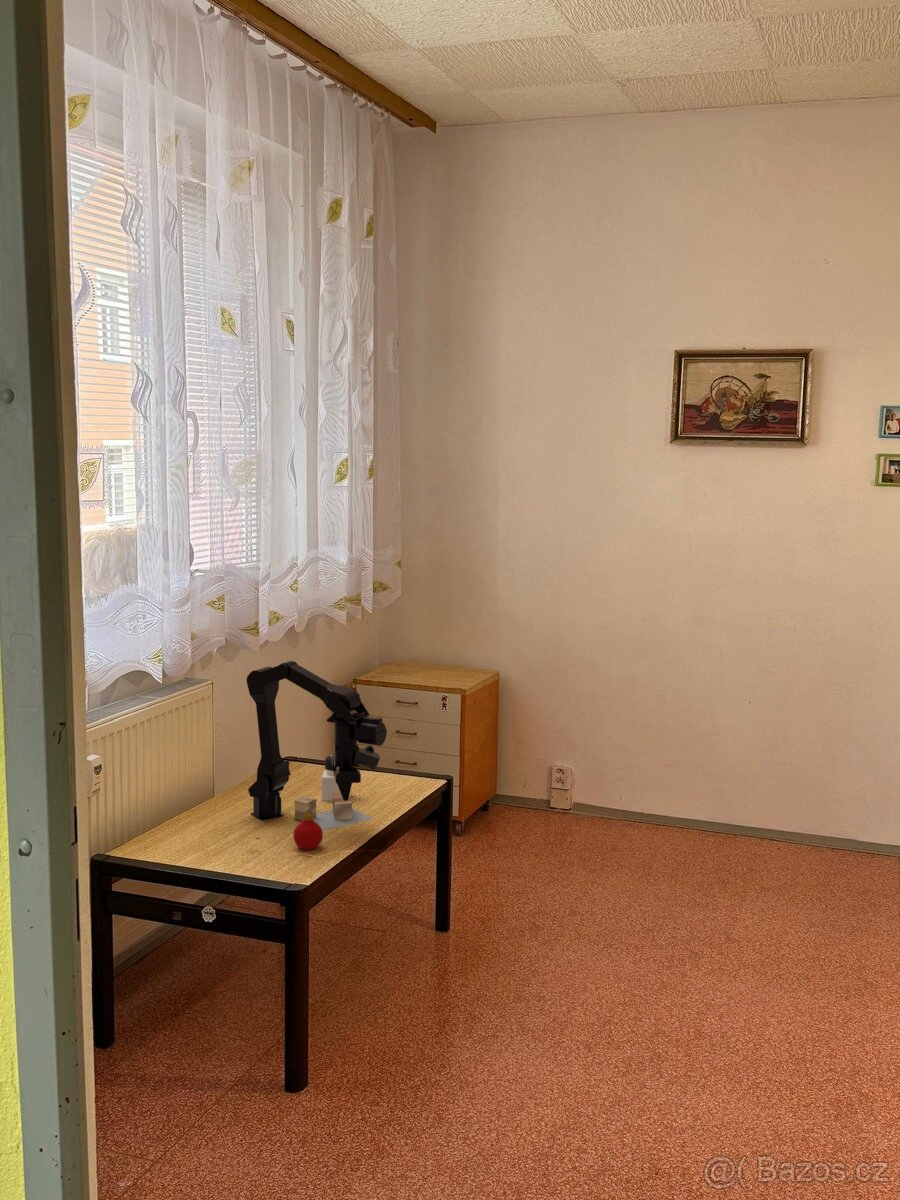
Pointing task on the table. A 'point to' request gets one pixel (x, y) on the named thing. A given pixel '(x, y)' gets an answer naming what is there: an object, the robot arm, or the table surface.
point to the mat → (329, 822)
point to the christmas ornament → (308, 833)
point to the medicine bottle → (329, 781)
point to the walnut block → (341, 807)
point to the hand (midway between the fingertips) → (345, 800)
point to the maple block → (305, 807)
